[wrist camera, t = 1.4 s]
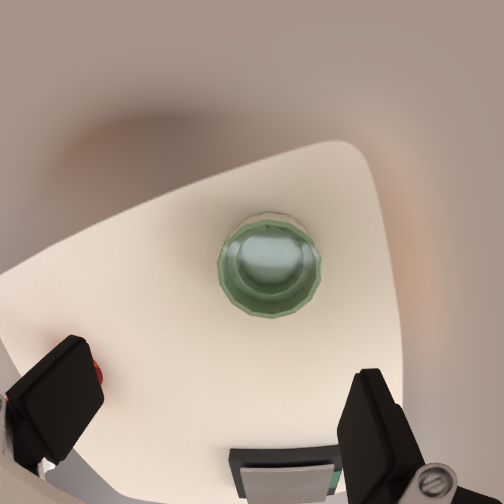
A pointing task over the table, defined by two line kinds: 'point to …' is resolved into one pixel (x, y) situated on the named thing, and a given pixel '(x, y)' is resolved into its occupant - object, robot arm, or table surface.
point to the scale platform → (287, 484)
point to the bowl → (269, 266)
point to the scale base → (285, 462)
